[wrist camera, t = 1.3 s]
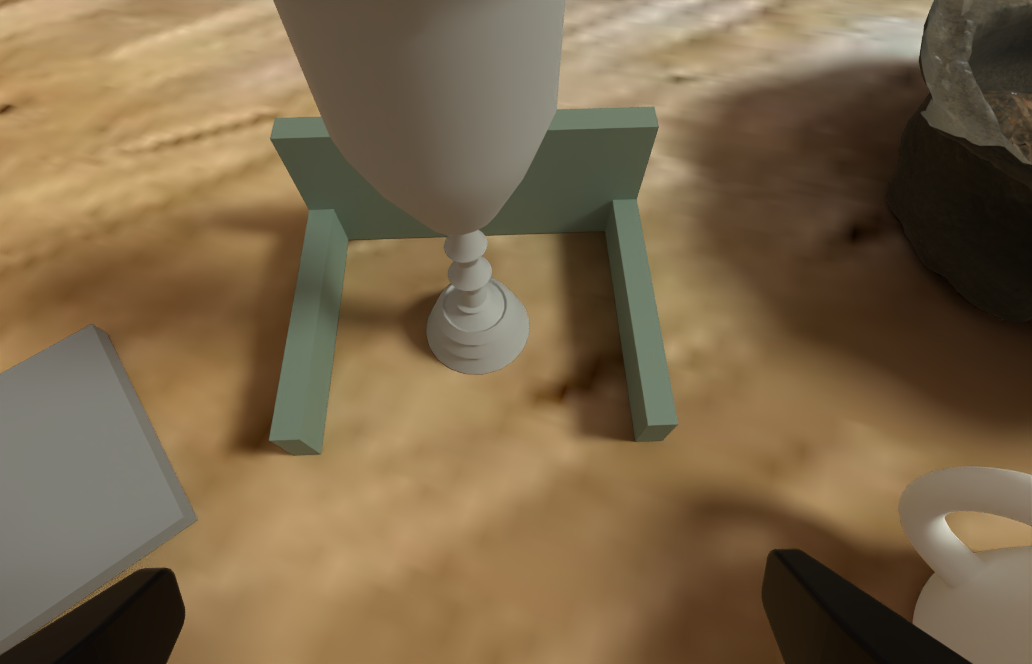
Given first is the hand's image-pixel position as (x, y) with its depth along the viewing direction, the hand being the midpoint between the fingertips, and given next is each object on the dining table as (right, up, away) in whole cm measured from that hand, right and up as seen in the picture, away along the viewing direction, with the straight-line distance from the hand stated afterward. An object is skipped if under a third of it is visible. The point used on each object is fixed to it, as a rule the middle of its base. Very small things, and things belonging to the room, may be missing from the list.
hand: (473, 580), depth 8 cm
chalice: (-1, +4, +18) cm, 18 cm away
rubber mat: (-20, -3, +14) cm, 25 cm away
